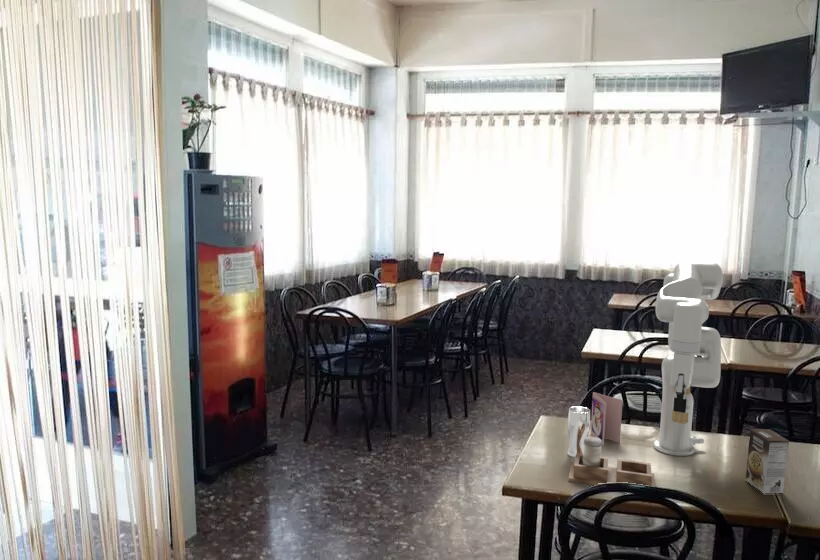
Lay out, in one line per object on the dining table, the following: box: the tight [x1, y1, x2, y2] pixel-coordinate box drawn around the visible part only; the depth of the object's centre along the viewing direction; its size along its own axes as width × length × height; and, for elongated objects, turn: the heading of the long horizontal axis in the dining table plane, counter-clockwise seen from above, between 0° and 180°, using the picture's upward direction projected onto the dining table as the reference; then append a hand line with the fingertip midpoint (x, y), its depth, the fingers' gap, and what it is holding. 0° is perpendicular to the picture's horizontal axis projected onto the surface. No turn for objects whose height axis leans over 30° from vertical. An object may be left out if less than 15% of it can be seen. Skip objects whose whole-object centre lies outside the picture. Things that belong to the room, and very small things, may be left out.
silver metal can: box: [567, 405, 591, 459], centre depth 214 cm, size 7×7×15 cm
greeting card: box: [590, 391, 624, 447], centre depth 227 cm, size 11×7×15 cm, turn 6°
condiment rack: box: [567, 436, 656, 486], centre depth 197 cm, size 24×12×11 cm, turn 72°
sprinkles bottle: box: [671, 380, 692, 424], centre depth 190 cm, size 5×5×13 cm
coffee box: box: [745, 428, 790, 494], centre depth 193 cm, size 9×6×16 cm
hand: (680, 408), depth 190 cm, fingers closed on sprinkles bottle, 4 cm apart
